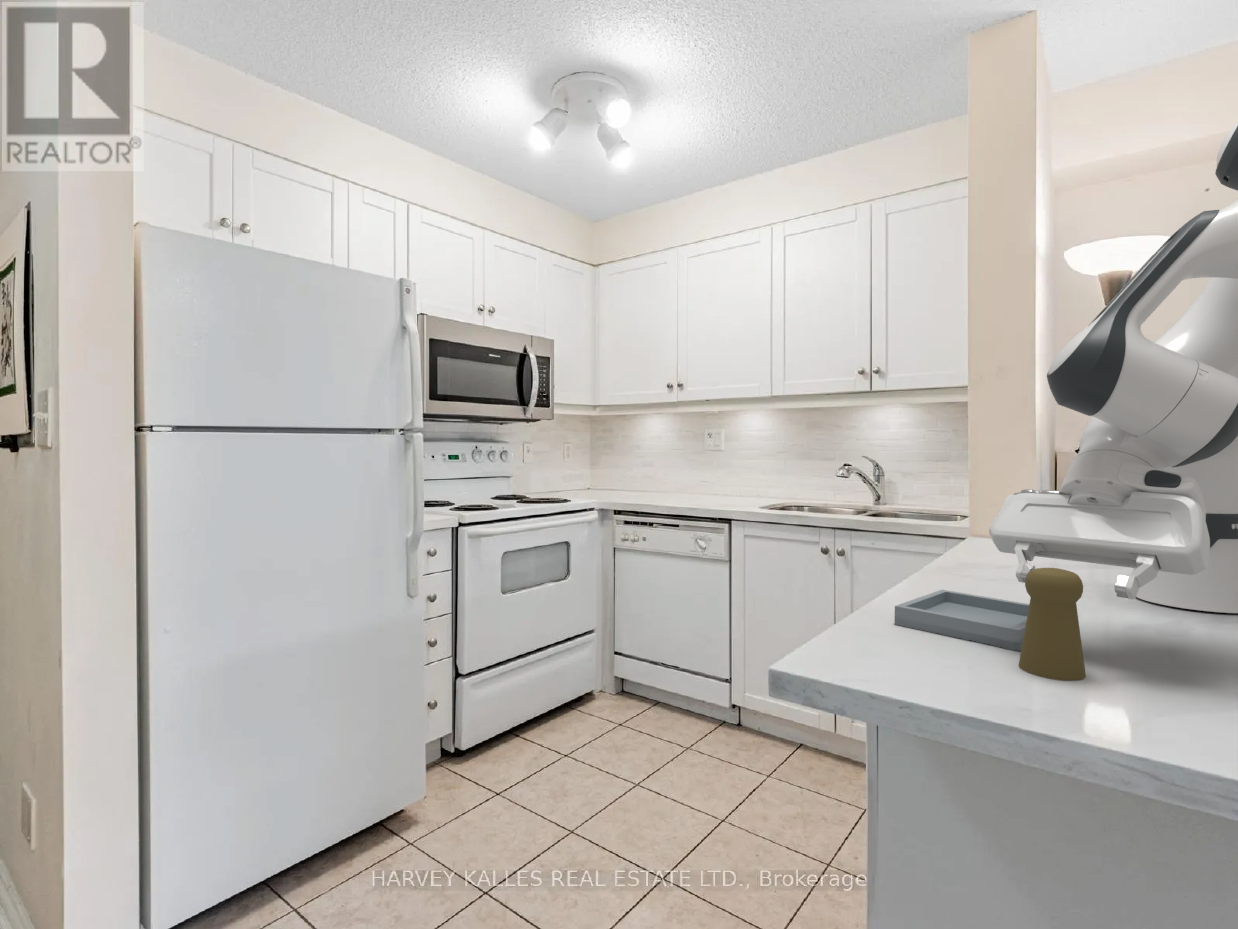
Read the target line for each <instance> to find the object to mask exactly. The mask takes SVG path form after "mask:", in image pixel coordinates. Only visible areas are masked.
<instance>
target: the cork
mask: <svg viewBox="0 0 1238 929" xmlns="http://www.w3.org/2000/svg"><path fill="white" fill-rule="evenodd" d="M1024 587H1025V590H1026V593H1027V594H1028V596H1029V597H1030V598H1029V599H1030V600H1029V603H1028V604H1029V610H1028V615H1027V621H1026V626H1025V632H1024V637H1023V643H1022V649H1021V650H1020V654H1019V660H1018V667H1019V668H1020V670H1022V671H1024V672H1026V673H1027V674H1028V673H1029V674H1031V675H1034V676H1038V677H1041V678H1045V679H1050V680H1058V681H1069V682H1072V681H1081V680H1084V679H1085V678H1086V677H1087V676H1086V669H1085V668H1086V666H1085V659H1084V653H1083V646H1082V638H1081V629H1080V622H1079V615H1078V607H1077V602H1078V601H1079V600H1080V599H1081V598H1082V596H1083V593H1084V583H1083V580H1082V579H1081V577H1080V576H1079V575H1078V574H1077V573H1075V572H1073V571H1070V570H1067V569H1063V568H1057V567H1038V568H1035V569H1033V570H1031V571H1029V573H1028V574H1027V575H1026V578H1025V583H1024Z"/></svg>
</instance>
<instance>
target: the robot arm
mask: <svg viewBox="0 0 1238 929" xmlns="http://www.w3.org/2000/svg"><path fill="white" fill-rule="evenodd" d="M1215 176H1216V178H1217V180H1218V181H1219V183H1220V185H1223V186H1224V187H1227V188H1229V189H1232V190H1235V191H1237V192H1238V121H1237V122H1236V123H1235V124H1234V125H1233V127H1231V129H1230V130H1229V131H1228V132H1227V134H1226V135H1225V137H1224V139H1223V140H1222V142H1221V143H1220V146H1219V149H1218V152H1217V157H1216V168H1215ZM1202 278H1203V279H1204V278H1208V280H1207V282H1206V284H1205V286H1204V288H1203V289H1202V291H1201V292H1200V293H1199V295H1198V296H1197V298H1196V299H1195V300H1194V302H1193V303H1192V304H1191V306H1190V307H1189V308H1188V309H1186V311H1185V313H1184V314H1182V315H1181V317H1180V318H1179V319H1178V320H1177V321H1176V322H1175V323H1174V324H1172V326H1171V327H1170V328H1169V329H1167V330H1166V332H1165V333H1164V334H1163V335H1161V336H1160V337H1159V338H1158V339H1157V340H1155V341H1151V340H1150V339H1148V338H1146V336H1145V335H1144V334H1143V333H1142V329H1141V327H1142V325H1143V324H1144V323H1145V321H1147V320H1148V318H1149V317H1150V316H1151V315H1152V314H1153V313H1154V312H1155V311H1156V310H1157V308H1158V307H1160V305H1162V303H1163V302H1164V301H1165V300H1166V299H1167V298H1168V297H1169V296H1170V294H1171V293H1172V292H1173V291H1174V290H1175V289H1176V288H1177V287H1178V286H1179V285H1180V283H1182V281H1186V280H1189V279H1202ZM1109 301H1110V302H1109V303H1107V305H1106V306H1105V307H1104V308H1103V309H1102V310H1101V311H1100V312H1099V313H1098V314H1097V316H1096V317H1095V318H1094V319H1093V320H1092V321H1090V323H1089V324H1088V325H1087V326H1086V327H1085V328H1083V329H1082V330H1081V331H1080V332H1078V333H1077V334H1075V336H1074V337H1072V338H1071V339H1070V340H1069V341H1068V342H1067V343H1066V344H1065V345H1064V346H1062V347H1061V349H1060V350H1059V352H1057V354H1056V356H1055V357H1054V358H1053V360H1052V362H1051V364H1050V366H1049V370H1048V372H1047V373H1046V378H1047V379H1046V380H1047V383H1048V386H1049V389H1050V392H1051V394H1052V397H1053V398H1054V400H1055V402H1056V404H1057V405H1059V406H1061V407H1064V408H1066V409H1070V410H1073V411H1075V412H1078V413H1080V414H1083V415H1085V416H1088V417H1090V418H1089V420H1088V422H1087V423H1086V426H1085V428H1084V430H1083V432H1082V434H1081V437H1080V439H1079V444H1078V448H1079V449H1078V450H1079V451H1078V452H1077V453H1076V454H1075V456H1074V457H1073V458H1072V459H1071V460H1070V461H1071V462H1070V464H1069V466H1068V469H1067V471H1066V473H1065V475H1064V478H1063V481H1062V483H1061V484H1060V487H1059V490H1056V489H1055V490H1053V489H1042V490H1040V489H1039V490H1034V489H1025V488H1024V489H1021V491H1020V492H1014V493H1012V494H1009V495H1007V497H1006V498H1005V500H1004V502H1003V505H1002V506H1001V508H1000V509H999V511H998V512H997V514H996V515H995V517H994V518H993V520H992V522H991V524H990V526H989V528H988V533H989V536H990V539H991V541H992V543H993V544H994V546H995V547H996V549H997V550H998V551H999V552H1001V553H1003V554H1005V553H1006V554H1013V555H1016V558H1017V561H1018V563H1019V564H1018V566H1017V569H1016V571H1015V577H1016V579H1017V581H1018V582H1019V583H1022V584H1023V583H1024V584H1025V578H1026V575H1027V574H1028V573H1029V571H1031V570H1033V569H1036V566H1035V564H1034V563H1030V562H1033V561H1034V558H1035V557H1038V558H1039V557H1041V558H1047V559H1057V560H1062V561H1063V560H1064V561H1072V562H1073V561H1074V562H1079V563H1081V562H1082V563H1088V564H1098V565H1104V566H1105V565H1107V566H1114V567H1123V568H1130V573H1128V575H1123V574H1118V575H1117V577H1116V582H1115V583H1114V586H1113V587H1114V588H1113V589H1114V593H1116V597H1118V598H1123V599H1128V600H1136V598H1137V599H1140V600H1143V601H1146V602H1150V603H1153V604H1158V605H1163V606H1166V607H1167V606H1168V607H1174V608H1180V609H1187V610H1193V611H1194V610H1195V611H1200V612H1201V611H1203V612H1213V613H1222V614H1223V613H1226V614H1238V197H1237V198H1236V199H1235V200H1234V201H1233V202H1232V203H1230V204H1229V205H1227V206H1226V207H1223V208H1221V209H1220V210H1219V209H1213V210H1212V209H1211V210H1204V211H1202V212H1200V213H1198V214H1197V215H1195V216H1193V218H1191V219H1190V220H1188V221H1187V222H1186V223H1184V224H1183V225H1182V226H1180V227H1179V228H1178V230H1176V231H1175V232H1173V234H1172V235H1171V236H1170V237H1169V238H1168V239H1167V240H1166V241H1165V242H1164V243H1162V245H1161V246H1160V247H1159V248H1158V249H1157V250H1156V252H1154V254H1151V256H1150V257H1149V258H1148V259H1147V260H1146V262H1145V263H1144V264H1143V265H1142V266H1141V267H1140V268H1139V270H1137V271H1136V273H1135V274H1134V275H1133V276H1132V277H1131V278H1130V279H1129V280H1128V282H1126V284H1125V285H1124V286H1123V287H1122V288H1121V289H1120V290H1119V291H1118V293H1116V295H1115V296H1114V297H1113V298H1112V299H1111V300H1109Z"/></svg>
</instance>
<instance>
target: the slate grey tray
mask: <svg viewBox="0 0 1238 929" xmlns="http://www.w3.org/2000/svg"><path fill="white" fill-rule="evenodd" d="M1029 604H1030V603H1025V602H1018V601H1014V600H1013V601H1012V600H1008V599H1007V600H1006V599H1001V598H995V597H988V596H983V595H978V594H971V593H965V592H958V591H952V590H947V589H946V590H945V589H940V590H936V591H934V592H931V593H928V594H926V595H922V596H920V597H917V598H914V599H911V600H908V601H905V602H903V603H900V604H896V605H894V625H896V626H902V627H904V628H909V629H914V630H919V631H923V632H924V631H925V632H929V633H934V634H937V633H938V634H937V635H941V636H946V637H951V638H955V637H956V638H955V639H960V638H961V640H964V639H965V640H966V641H969V640H972V641H971V642H974V641H976V642H975V643H978V642H979V644H983V643H986V644H985V645H988V644H990V645H989V646H992V645H993V647H998V648H1001V647H1002V649H1007V650H1011V651H1015V652H1021V649H1022V643H1023V637H1024V632H1025V626H1026V621H1027V615H1028V610H1029Z"/></svg>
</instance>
